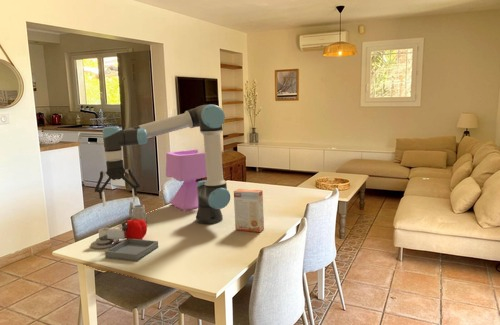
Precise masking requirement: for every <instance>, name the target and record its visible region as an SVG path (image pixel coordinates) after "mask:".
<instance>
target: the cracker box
mask: <svg viewBox="0 0 500 325" xmlns="http://www.w3.org/2000/svg"><path fill="white" fill-rule="evenodd" d="M233 205H234V209H233V210H234V223H235V224H234V226H235V230H236V231H241V232H243V231H244V232H254V233H261V232H263V230H265V222H264V221H265V218H264V196H263V189H261V190H260V189H248V188H247V189H245V188H238V189H235V190H234V191H233Z"/></svg>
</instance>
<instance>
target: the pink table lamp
mask: <svg viewBox="0 0 500 325" xmlns="http://www.w3.org/2000/svg"><path fill="white" fill-rule="evenodd" d="M165 155H166V156H165V159H166V160H165V161H166V162H165V163H166V164H165V177H166V178H171V179H174V180H176V181H178V182H183V183H182V184H180V185H181V186H179V188H178V190H177V192H176V193H175V194H174V197H173V198H172V199H171V201H170V205H171V204H172V205H171V206H173V205H174V206H173V207H175V206H176V207H175V208H177V209H179V210H181V211H183V212H186V211H191V210H195V209H198V194H197V183H198V181H196V180H200V179H203V178H207V174H206V161H205V151H204V152H199V150H198V149H196V148H195V149H189V150H188V149H187V150H179V151H178V150H176V151H169V152H166V153H165Z"/></svg>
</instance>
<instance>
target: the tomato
mask: <svg viewBox="0 0 500 325" xmlns="http://www.w3.org/2000/svg"><path fill="white" fill-rule="evenodd" d="M126 221H127V228H128V230H126V231H127V238H126V239H139V240H143V239H144V237H145V236H146V235H147V230H148V225H147V221H146V222H145V221H144V220H142V219H137V218H136V219H135V218H134V219H131V218H130V219H128V220H126ZM126 239H125V240H126Z"/></svg>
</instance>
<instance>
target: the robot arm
mask: <svg viewBox="0 0 500 325" xmlns="http://www.w3.org/2000/svg"><path fill="white" fill-rule="evenodd" d="M225 115H226V114H225V112H224V110H223V109H222V107H220V106H218V105H216V104H213V103H212V104H211V103H210V104H202V105H199V106H196V107H195V108H190V109H188V110H185V111H184V113H180V114H177V115H174V116H173V115H172V116H169V117H165V118H162V119H158V120H154V121H150V122H147V123H144V124H140V125H136V126H132V127H127V128H124V129H123V130H122V129H120V126H118V125H117V126H116V125H115V126H105V127H103V129H102V140H103V147H104V156H105V164H106V171H103V170H100V171H99V178H98V180H97V183H96V186H95V188H94V192H95V193H98V196H99V200H102V206H103V207H105V206H106V205H107V203H106V196H105V191H104V190H105V188H106V187H107V186H108V184H109V182H110V181H115V180H121V179H122V180H123V181H124V182H125V183H127V185H129V186H130V187H131V191H132V192H131V193H132V202H133V204H136V196H137V195H138V188H140V187H141V184H140V183H139V181H138V179H137V177H135V175H134V174H133V171H132V168H131V167H129V168H127V169H125V166H124V160H123V149H122V147H127V146H138V145H140V146H141V145H145V144H147V143H148V139H151V138H154V137H158V136H161V135H165V134H168V133H172V132H175V131H179V130H183V129H186V128H190V129H193V128H198V127H199V132H200V133H201V134H202V135H203V146H204V152H205V161H206V174H207V177H206V179H205V180H199V181H197V194H198V208H197V210H196V211H197V212H196V215H195V222H196V223H197V224H203V225H210V224H216V223H220V222H222V221H223V220H224V219H223V216H224V215H223V213H222V210H221V209H223V208H225V207H227V206H228V204H230V201H231V194H230V192H229V190H228V186H227V181H226V180H225V179H224V169H223V156H222V155H223V154H222V144H221V143H222V142H221V140H222V139H221V133H222V132H223V127H224V126H223V124H224V123H225V120H226V116H225ZM125 173H127V174H128V175H129V177H130V178H131V180H132V181H133V182H132V181H131V180H130V179H128V177H127V176H126V175H125ZM106 175H107V176H108V177H107V179H106V181H105V182H104V184H103V185H102V186H101V187H100V185H101V183H102V181H103V178H104V177H105V176H106Z"/></svg>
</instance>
